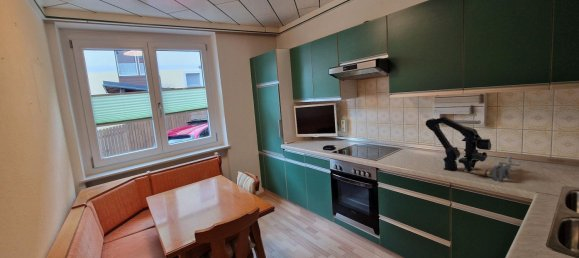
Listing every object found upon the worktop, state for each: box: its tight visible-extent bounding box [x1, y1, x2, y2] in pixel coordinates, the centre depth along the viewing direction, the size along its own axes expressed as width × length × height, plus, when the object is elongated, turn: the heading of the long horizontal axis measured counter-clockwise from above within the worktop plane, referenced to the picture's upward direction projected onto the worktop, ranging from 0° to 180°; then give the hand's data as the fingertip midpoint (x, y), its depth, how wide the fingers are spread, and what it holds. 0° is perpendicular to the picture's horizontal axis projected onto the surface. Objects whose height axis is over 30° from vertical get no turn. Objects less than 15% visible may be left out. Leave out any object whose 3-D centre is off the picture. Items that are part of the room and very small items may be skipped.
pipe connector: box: [498, 155, 521, 172], centre depth 164 cm, size 10×10×10 cm
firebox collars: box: [491, 163, 510, 183], centre depth 153 cm, size 4×11×8 cm, turn 121°
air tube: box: [463, 166, 493, 178], centre depth 163 cm, size 16×4×4 cm, turn 31°
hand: (470, 171), depth 167 cm, fingers closed on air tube, 4 cm apart
